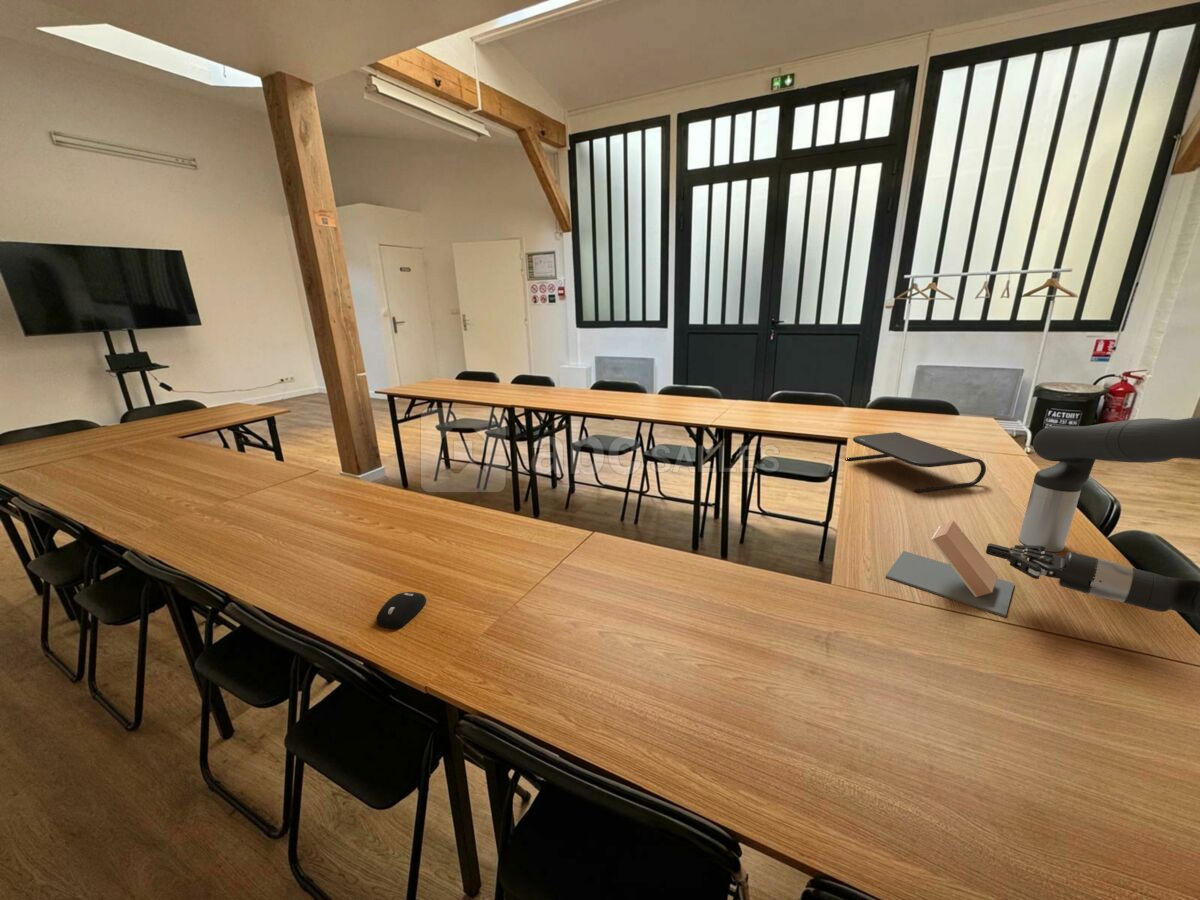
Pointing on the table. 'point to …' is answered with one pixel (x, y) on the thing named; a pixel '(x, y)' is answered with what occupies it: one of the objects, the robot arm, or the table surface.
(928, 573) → the mat
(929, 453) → the monitor stand
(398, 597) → the computer mouse
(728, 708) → the table surface
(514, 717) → the table surface
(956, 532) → the peach rectangular block
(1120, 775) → the table surface
